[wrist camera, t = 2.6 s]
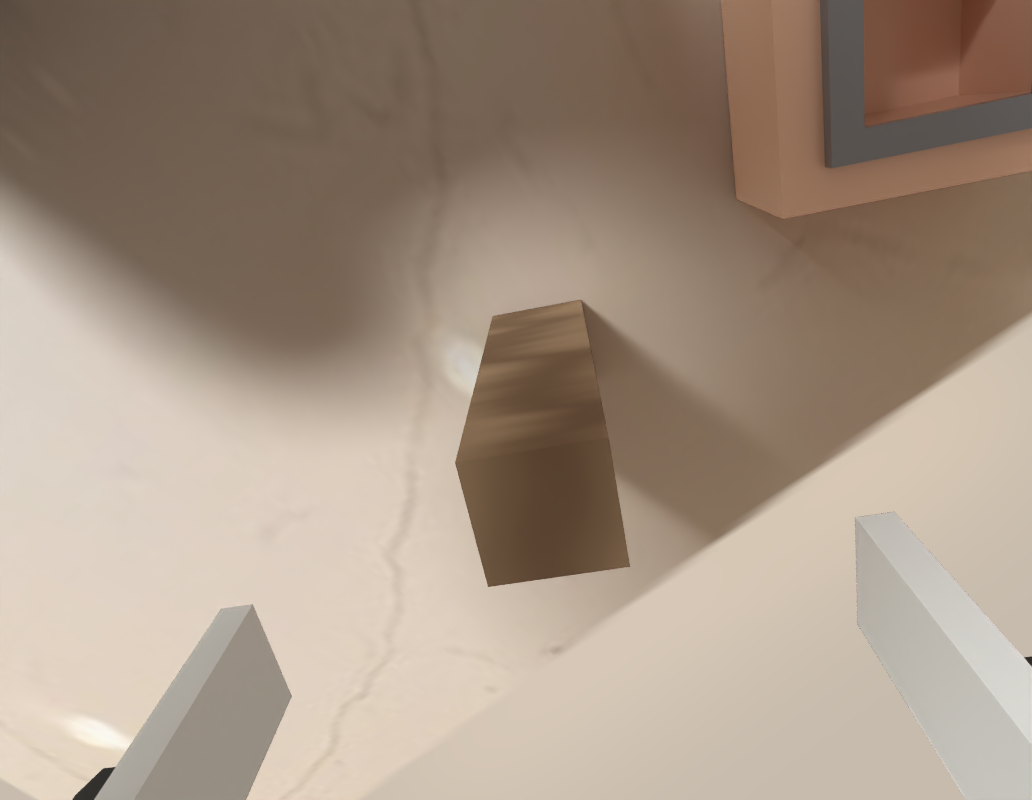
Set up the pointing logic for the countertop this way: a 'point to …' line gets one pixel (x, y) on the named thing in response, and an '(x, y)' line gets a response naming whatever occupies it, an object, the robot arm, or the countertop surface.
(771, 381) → the countertop surface
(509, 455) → the tall wooden block
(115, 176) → the countertop surface
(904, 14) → the peach square socket block
